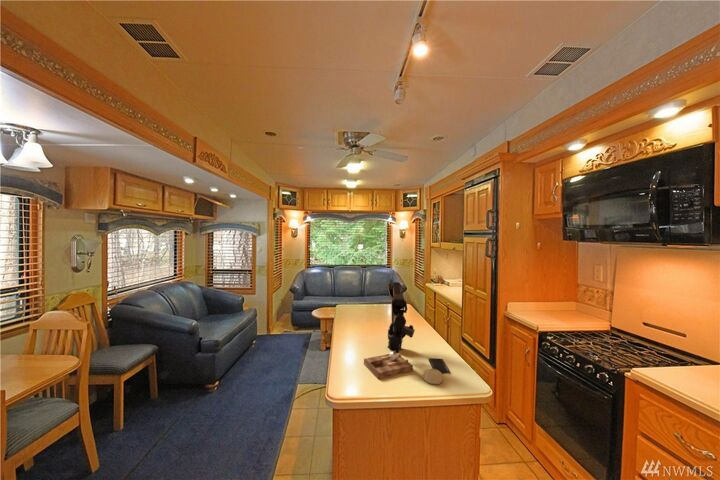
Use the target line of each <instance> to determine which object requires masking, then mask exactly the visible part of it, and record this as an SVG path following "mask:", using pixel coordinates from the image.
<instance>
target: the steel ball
mask: <svg viewBox="0 0 720 480" xmlns="http://www.w3.org/2000/svg"><path fill="white" fill-rule="evenodd" d="M388 354H389V358H390V360H391V361H397V360H398V357H399V355H398V354H399V353H397V352H396V351H392V350H391V352H389V353H388Z"/></svg>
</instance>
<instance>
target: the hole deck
mask: <svg viewBox="0 0 720 480" xmlns="http://www.w3.org/2000/svg"><path fill="white" fill-rule="evenodd" d="M389 354H390V353H386V354H382V355H377V356H371V357H366V358H363V366H364V367H365V368H367V369H368V370H369V371H370V373H371V374H372V375H373V376H374V377H375V378H376V379H377V380H381V379H384V378H389V377H394V376H398V375H401V374H406V373H411V372H413V371H414V370H413V369H414V367H413V366H414V365H413V364H411V363H410V362H409V359H407V358H406V359H405V358H404V357H403V356H402V354H401V353H398V355H399V357H398V360H397V361H391V360H390V358H389Z"/></svg>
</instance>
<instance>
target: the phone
mask: <svg viewBox="0 0 720 480" xmlns="http://www.w3.org/2000/svg"><path fill="white" fill-rule="evenodd" d="M428 362H429V364H430V367H431V369H436V370H438V371H440V372H441V373H449V374H450V373H451V370H450V369H449V367H448V366H447V364H446V362H445V361H444V359H443V358H439V357H438V358H436V357H435V358H434V357H433V358H431V357H430V358H428Z"/></svg>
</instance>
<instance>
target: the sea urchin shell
mask: <svg viewBox="0 0 720 480" xmlns="http://www.w3.org/2000/svg"><path fill="white" fill-rule="evenodd" d="M422 378H423V379H424V381H426V382H427V384H431V385H440V384H441V383H442V382H443V380H444V374H442V373H441V372H440V371H438V370H436V369H433V368H428V369H426V370H424V371H423V374H422Z"/></svg>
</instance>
